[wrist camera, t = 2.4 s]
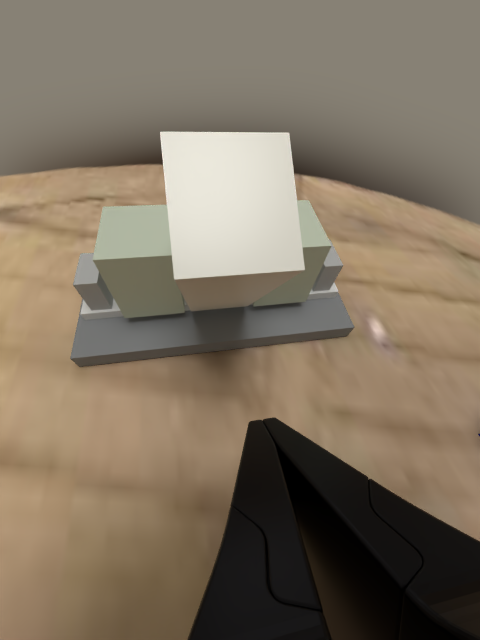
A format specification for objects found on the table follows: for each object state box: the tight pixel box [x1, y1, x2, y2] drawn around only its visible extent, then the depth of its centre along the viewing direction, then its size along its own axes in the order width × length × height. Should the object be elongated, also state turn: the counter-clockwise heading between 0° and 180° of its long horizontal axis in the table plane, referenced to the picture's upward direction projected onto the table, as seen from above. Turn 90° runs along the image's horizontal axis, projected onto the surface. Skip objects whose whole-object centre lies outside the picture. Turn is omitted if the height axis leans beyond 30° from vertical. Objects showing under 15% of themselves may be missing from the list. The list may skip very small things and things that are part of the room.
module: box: [160, 132, 305, 311], centre depth 15 cm, size 5×4×12 cm
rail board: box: [70, 200, 354, 367], centre depth 20 cm, size 9×22×8 cm, turn 99°
